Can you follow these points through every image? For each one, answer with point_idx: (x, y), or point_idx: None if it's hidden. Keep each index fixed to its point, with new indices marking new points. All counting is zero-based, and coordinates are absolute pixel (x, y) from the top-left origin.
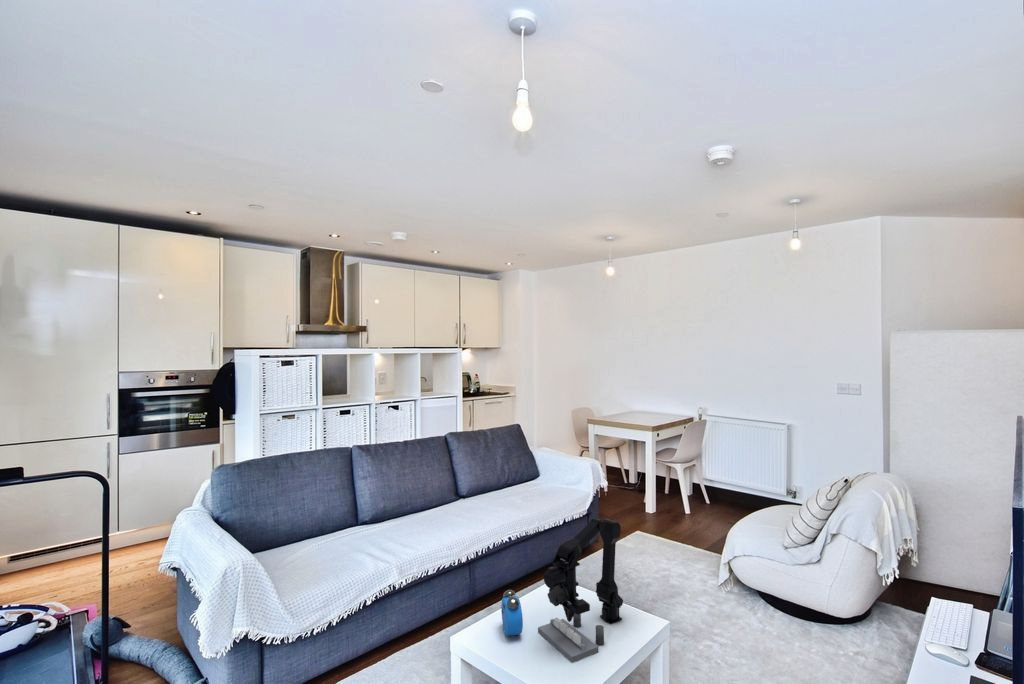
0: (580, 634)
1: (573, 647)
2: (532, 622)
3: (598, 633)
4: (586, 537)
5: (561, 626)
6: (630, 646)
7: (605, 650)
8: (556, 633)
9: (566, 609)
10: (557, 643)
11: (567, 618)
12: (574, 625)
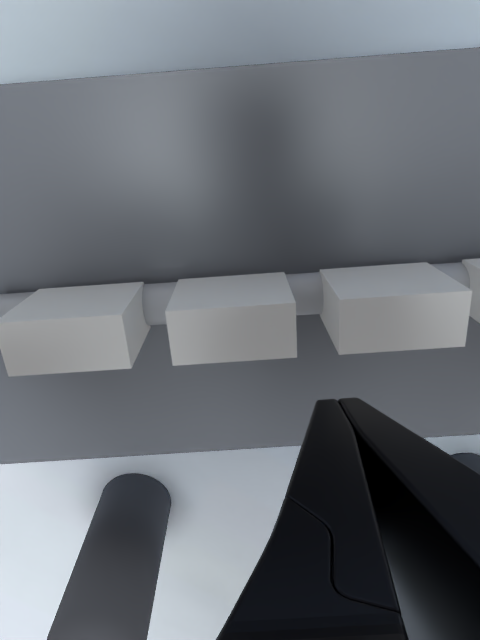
0: (257, 428)
1: (62, 231)
2: None
3: (79, 571)
4: None
5: (419, 283)
6: (19, 637)
7: (29, 486)
8: (426, 200)
9: (467, 585)
10: (224, 81)
11: (355, 418)
12: (464, 462)
